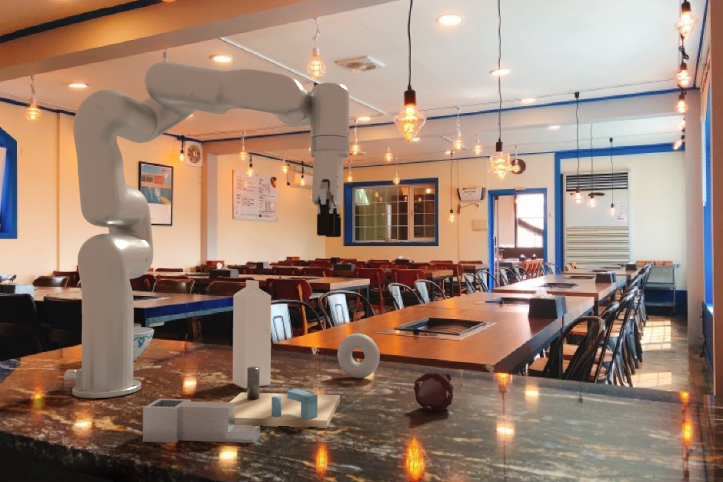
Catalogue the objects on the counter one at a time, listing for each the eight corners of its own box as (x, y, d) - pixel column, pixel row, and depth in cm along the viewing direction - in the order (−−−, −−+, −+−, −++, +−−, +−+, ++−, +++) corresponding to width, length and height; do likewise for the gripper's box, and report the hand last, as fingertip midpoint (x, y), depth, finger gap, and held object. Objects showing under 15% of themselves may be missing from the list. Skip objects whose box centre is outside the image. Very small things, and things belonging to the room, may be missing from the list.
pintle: (245, 399, 103) (245, 368, 103) (249, 396, 105) (249, 366, 105) (257, 400, 102) (257, 369, 103) (260, 397, 105) (260, 366, 105)
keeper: (269, 422, 93) (269, 393, 93) (294, 416, 97) (294, 388, 97) (292, 431, 89) (292, 400, 89) (317, 424, 92) (317, 394, 92)
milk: (244, 389, 116) (244, 281, 116) (232, 383, 121) (232, 280, 121) (271, 384, 120) (271, 280, 120) (258, 379, 124) (258, 279, 125)
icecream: (445, 385, 92) (469, 375, 106) (405, 370, 96) (433, 362, 109) (434, 426, 92) (459, 411, 106) (394, 409, 96) (423, 397, 109)
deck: (211, 424, 92) (211, 416, 92) (241, 398, 108) (241, 392, 108) (326, 428, 90) (326, 420, 90) (339, 401, 106) (339, 395, 106)
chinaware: (139, 367, 137) (139, 335, 137) (78, 366, 137) (78, 335, 137) (162, 355, 152) (162, 327, 152) (106, 355, 152) (107, 326, 152)
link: (142, 441, 84) (143, 407, 84) (158, 430, 89) (158, 398, 89) (252, 445, 82) (252, 410, 82) (262, 434, 87) (262, 401, 87)
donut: (334, 377, 126) (334, 332, 126) (340, 374, 129) (341, 331, 130) (376, 381, 122) (376, 335, 123) (381, 378, 126) (382, 333, 126)
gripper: (318, 156, 119) (317, 237, 119) (302, 140, 102) (301, 235, 102) (353, 155, 118) (353, 237, 118) (343, 139, 101) (343, 235, 101)
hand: (329, 236), depth 110 cm, fingers open, 9 cm apart
